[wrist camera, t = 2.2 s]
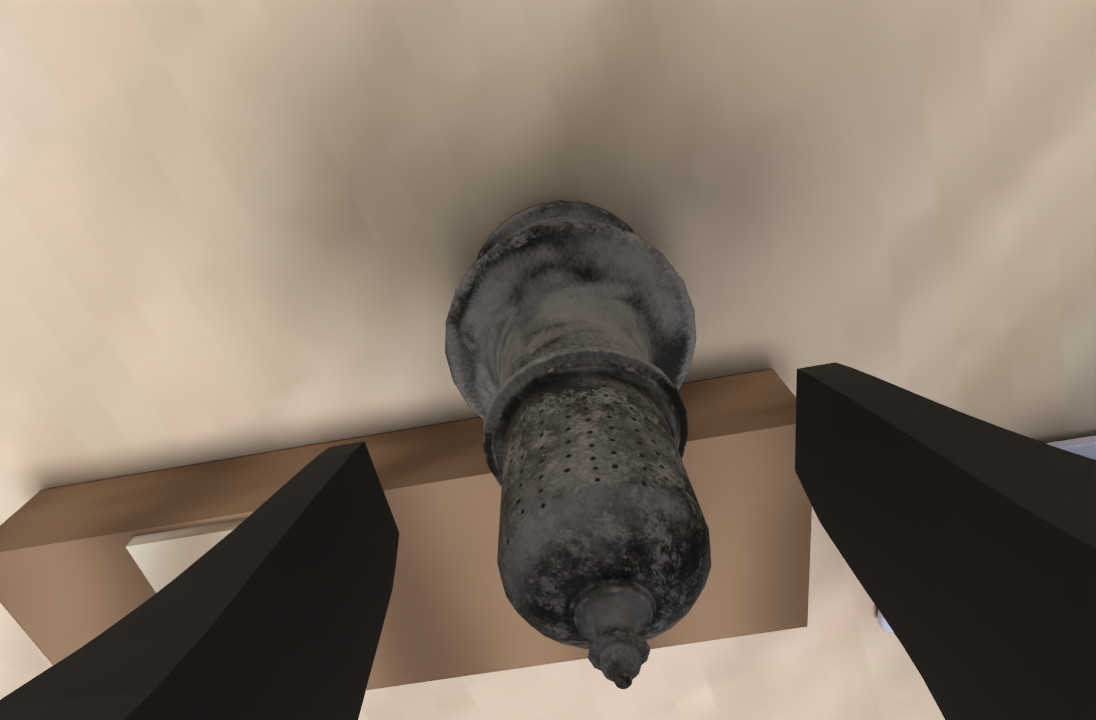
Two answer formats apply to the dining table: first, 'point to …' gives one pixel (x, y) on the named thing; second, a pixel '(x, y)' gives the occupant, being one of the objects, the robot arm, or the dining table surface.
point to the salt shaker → (584, 427)
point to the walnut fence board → (423, 538)
